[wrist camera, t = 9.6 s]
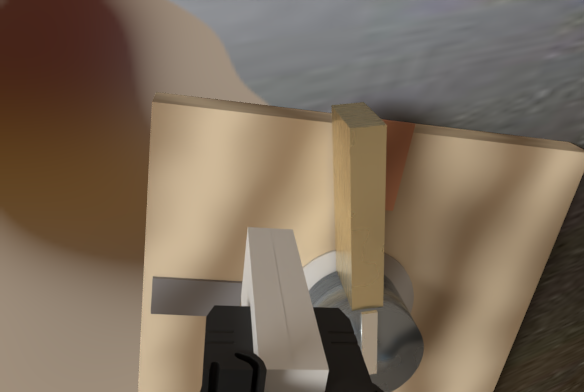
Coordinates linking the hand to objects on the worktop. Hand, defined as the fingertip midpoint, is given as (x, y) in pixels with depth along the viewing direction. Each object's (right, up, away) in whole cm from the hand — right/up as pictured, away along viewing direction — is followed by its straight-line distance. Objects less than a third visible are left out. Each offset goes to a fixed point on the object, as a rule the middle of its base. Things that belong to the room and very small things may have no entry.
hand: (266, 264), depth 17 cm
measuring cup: (+4, 0, +11) cm, 12 cm away
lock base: (+4, -3, +16) cm, 16 cm away
